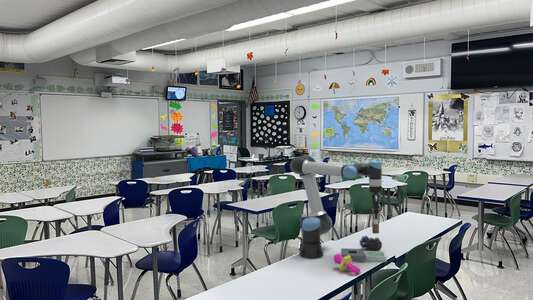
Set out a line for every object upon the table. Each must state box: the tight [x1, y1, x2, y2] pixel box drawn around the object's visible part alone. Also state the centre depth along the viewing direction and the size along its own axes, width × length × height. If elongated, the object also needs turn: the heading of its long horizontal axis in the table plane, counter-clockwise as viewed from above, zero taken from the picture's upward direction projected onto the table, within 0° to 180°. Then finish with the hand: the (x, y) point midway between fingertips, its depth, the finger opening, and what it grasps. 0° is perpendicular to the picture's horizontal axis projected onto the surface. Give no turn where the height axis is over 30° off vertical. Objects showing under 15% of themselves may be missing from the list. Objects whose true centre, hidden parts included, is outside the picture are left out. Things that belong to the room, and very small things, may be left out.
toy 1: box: [333, 253, 361, 274], centre depth 240 cm, size 10×18×10 cm, turn 44°
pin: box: [371, 207, 381, 235], centre depth 257 cm, size 5×5×15 cm
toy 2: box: [359, 235, 383, 251], centre depth 276 cm, size 9×9×15 cm
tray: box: [364, 250, 388, 263], centre depth 259 cm, size 12×10×3 cm
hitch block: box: [340, 247, 366, 263], centre depth 261 cm, size 14×14×4 cm
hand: (375, 223), depth 257 cm, fingers closed on pin, 4 cm apart
